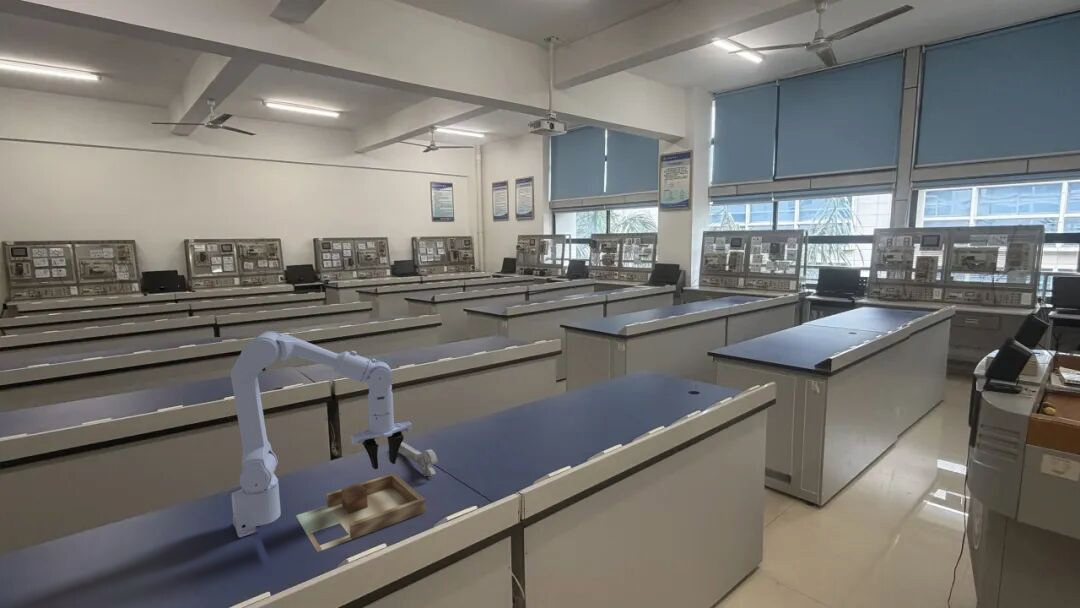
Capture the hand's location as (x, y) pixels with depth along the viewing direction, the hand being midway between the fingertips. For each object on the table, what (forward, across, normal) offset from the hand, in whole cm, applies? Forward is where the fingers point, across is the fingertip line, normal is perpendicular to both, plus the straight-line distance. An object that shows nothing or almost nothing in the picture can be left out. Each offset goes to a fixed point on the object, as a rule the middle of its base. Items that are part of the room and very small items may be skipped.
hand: (383, 465), depth 123 cm
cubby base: (+9, -8, -4) cm, 13 cm away
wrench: (+10, +15, +15) cm, 23 cm away
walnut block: (+8, -8, 0) cm, 11 cm away
